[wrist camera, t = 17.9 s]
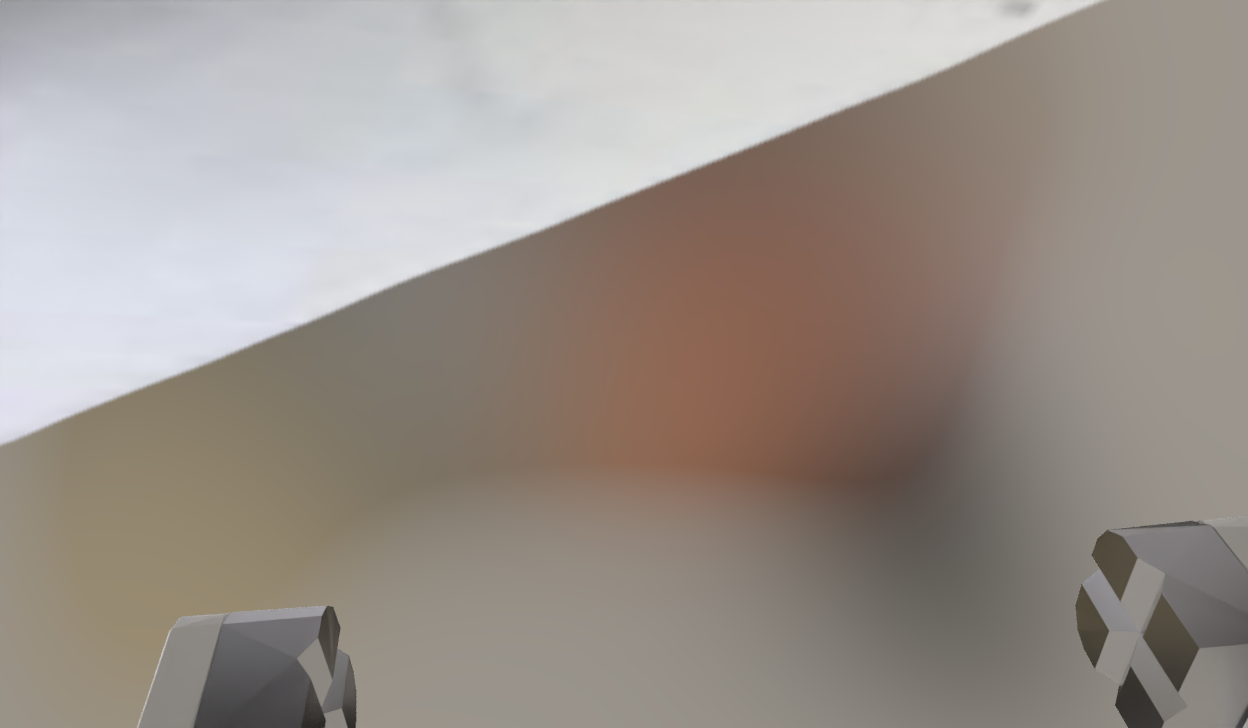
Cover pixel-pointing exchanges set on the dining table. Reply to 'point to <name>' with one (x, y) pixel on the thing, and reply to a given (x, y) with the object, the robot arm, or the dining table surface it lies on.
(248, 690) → the robot arm
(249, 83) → the dining table surface
